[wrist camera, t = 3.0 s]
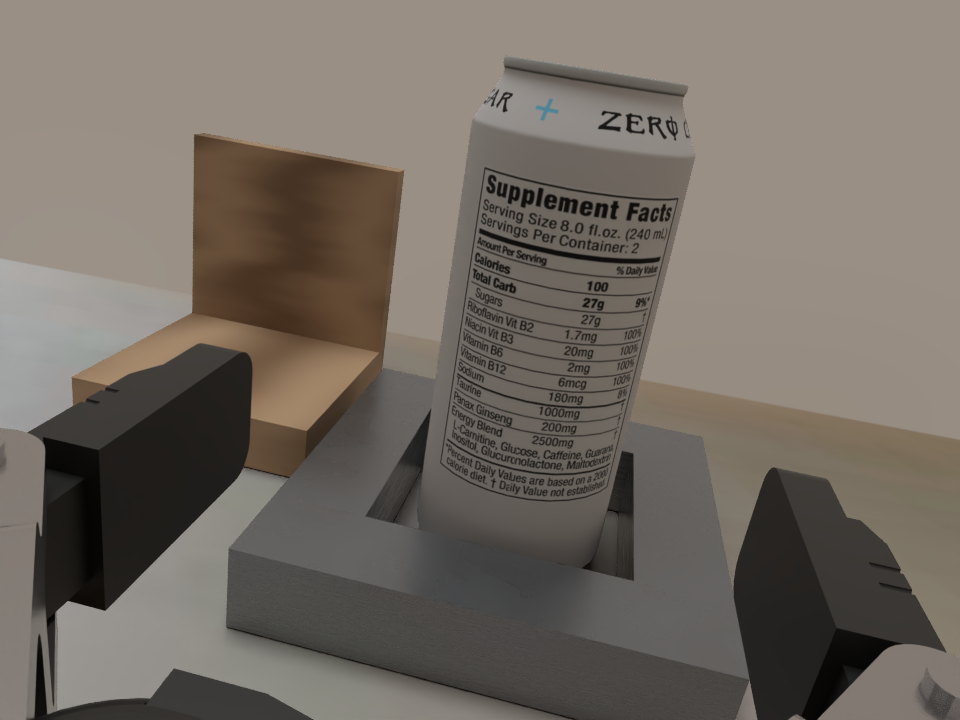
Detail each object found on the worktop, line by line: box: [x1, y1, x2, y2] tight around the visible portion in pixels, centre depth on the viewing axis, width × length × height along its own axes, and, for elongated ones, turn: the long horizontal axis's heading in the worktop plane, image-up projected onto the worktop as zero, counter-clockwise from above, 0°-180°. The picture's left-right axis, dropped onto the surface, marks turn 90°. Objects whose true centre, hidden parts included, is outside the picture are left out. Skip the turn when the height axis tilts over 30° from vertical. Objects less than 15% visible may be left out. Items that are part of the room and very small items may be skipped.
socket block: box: [226, 368, 750, 720], centre depth 25 cm, size 13×13×2 cm
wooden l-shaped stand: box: [72, 133, 404, 477], centre depth 30 cm, size 9×9×10 cm
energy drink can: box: [417, 56, 695, 568], centre depth 23 cm, size 6×6×15 cm
